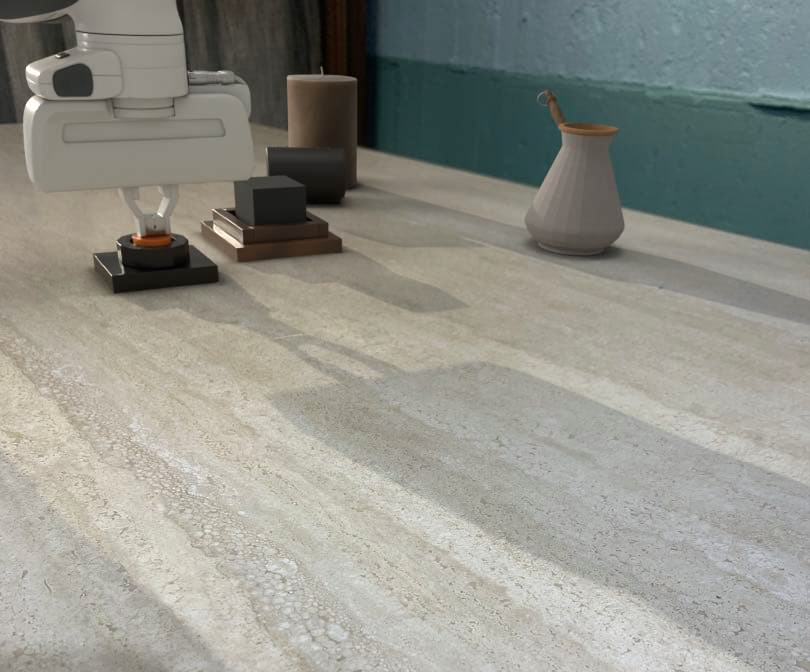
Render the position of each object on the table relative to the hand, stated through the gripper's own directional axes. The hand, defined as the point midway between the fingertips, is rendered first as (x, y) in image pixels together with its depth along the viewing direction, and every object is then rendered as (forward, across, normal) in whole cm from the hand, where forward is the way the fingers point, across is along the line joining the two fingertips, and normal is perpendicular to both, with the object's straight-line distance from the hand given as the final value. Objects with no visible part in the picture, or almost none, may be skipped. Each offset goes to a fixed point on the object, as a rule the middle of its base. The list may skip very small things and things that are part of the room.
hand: (153, 235), depth 83 cm
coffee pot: (+4, -49, 0) cm, 49 cm away
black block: (+2, -15, -8) cm, 17 cm away
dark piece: (+4, 0, 0) cm, 4 cm away
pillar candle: (+4, -34, -36) cm, 50 cm away
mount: (+4, -15, -8) cm, 17 cm away
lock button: (+2, 0, 0) cm, 2 cm away
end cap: (+4, -27, -26) cm, 38 cm away
